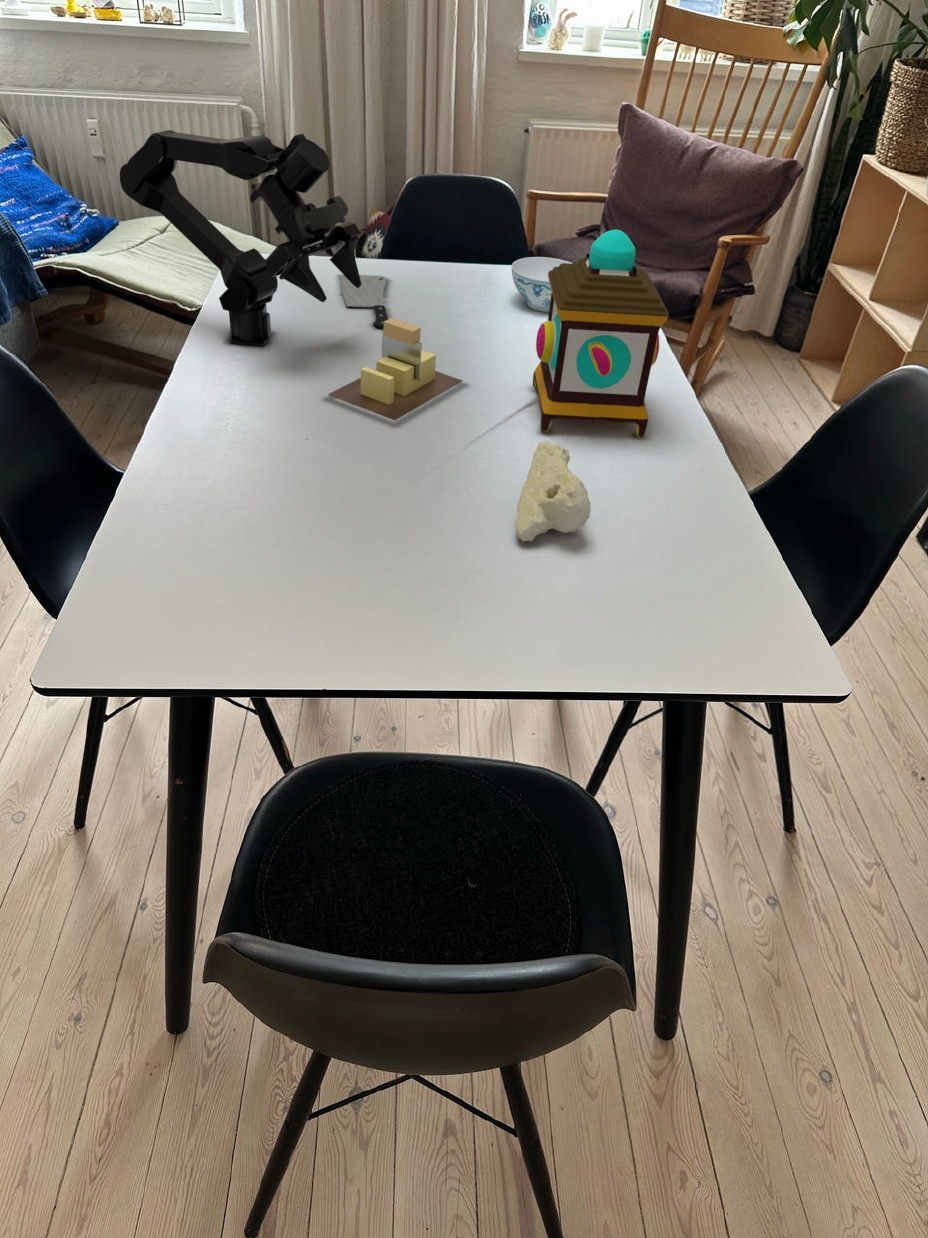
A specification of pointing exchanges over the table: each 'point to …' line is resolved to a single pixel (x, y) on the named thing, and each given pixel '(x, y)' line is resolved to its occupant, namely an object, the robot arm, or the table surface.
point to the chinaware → (535, 280)
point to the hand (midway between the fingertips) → (342, 293)
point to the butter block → (408, 372)
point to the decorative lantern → (599, 337)
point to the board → (396, 396)
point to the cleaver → (366, 295)
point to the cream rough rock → (551, 495)
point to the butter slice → (377, 385)
